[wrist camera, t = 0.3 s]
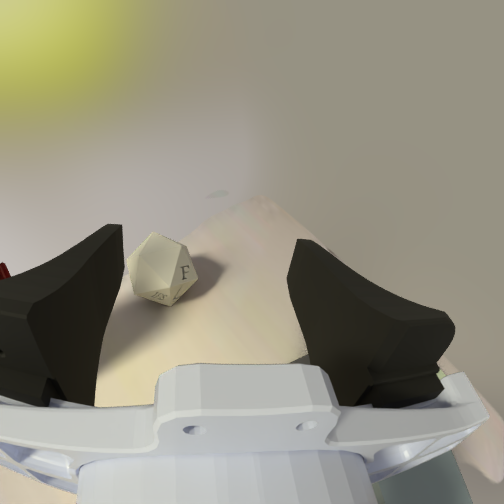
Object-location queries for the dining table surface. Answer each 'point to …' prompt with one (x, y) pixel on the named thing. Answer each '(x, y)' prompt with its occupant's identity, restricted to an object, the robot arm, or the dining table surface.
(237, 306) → the dining table surface
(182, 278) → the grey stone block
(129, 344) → the dining table surface
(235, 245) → the dining table surface
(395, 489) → the slate plinth
